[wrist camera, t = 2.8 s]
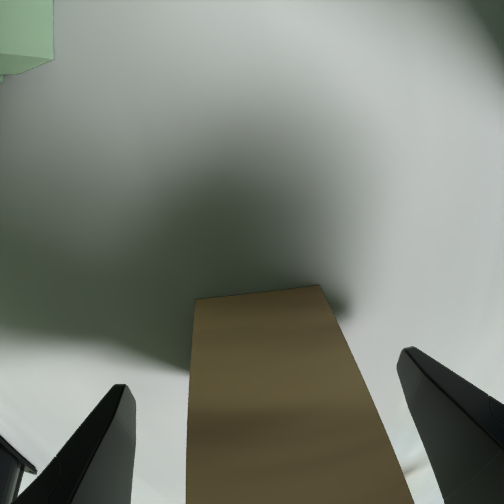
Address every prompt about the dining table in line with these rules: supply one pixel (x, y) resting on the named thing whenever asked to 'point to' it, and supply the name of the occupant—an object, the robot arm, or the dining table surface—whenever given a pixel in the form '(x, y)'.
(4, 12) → the green open frame
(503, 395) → the dining table surface
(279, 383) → the walnut peg
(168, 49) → the dining table surface
